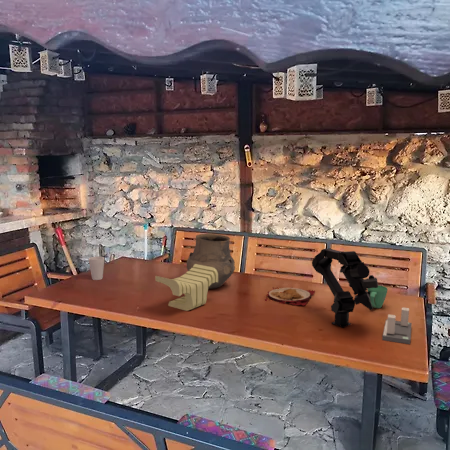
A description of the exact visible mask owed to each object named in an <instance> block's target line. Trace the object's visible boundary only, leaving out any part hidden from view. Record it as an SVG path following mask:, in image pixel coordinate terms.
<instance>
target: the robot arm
mask: <svg viewBox="0 0 450 450" xmlns="http://www.w3.org/2000/svg"><path fill="white" fill-rule="evenodd" d="M333 260H336V261H337V262H338V263H339V264H340V265H342V266H340V269H339V273H342V274H343V276H344V277H345V279H346V281H347V283H348V287H349V288H351V289H352V291H353V296H352V293H351V291H349V290H346V291H345V290H344V289H343V287H342V286H341V284H340V282H339V281H338V280H337V278H336V276H335V274H334V273H333V270H332V269H331V268H332V263H333ZM311 266H312V268H313V269H314V270H315V272H316V273H318V274H320V275H322V277H323V279H324V281H325V283H326V285H327V286H328V289H329V290H330V291H331V293H332V295H333V296H334V297H333V303H331V305H330V309H331V311H332V313H334V321H332V322H331V325H334V326H337V327H340V328H343V329H344V328H346V327H348V326H351V325H352V323H351V322H350V321H349V320H350V313H353V312H354V309H355V306H356V305H359V304H361V305H363V306H364V307H366V308H367V309H368V310H370V311H372V310H374V308H373V307H372V304H371V301H370V298H369V297H370V291H368V290H367V288H378V285H379V282H378V278H377V277H375V276H374V275H373V274H370V269H369V267H368V266H367V265H365V262H364V261H362V259H361V258H360V256H359V255H358V254H357V252H356V251H354V250H351V251H341V250H337V249H332V248H322V249H321V250H320V252H319V253H317V254H316V255H315V256H314V257H313V259H312V261H311Z"/></svg>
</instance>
